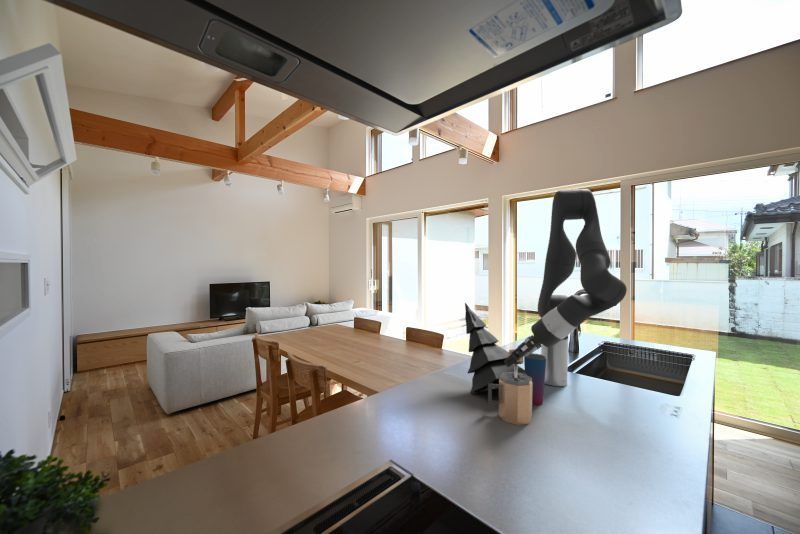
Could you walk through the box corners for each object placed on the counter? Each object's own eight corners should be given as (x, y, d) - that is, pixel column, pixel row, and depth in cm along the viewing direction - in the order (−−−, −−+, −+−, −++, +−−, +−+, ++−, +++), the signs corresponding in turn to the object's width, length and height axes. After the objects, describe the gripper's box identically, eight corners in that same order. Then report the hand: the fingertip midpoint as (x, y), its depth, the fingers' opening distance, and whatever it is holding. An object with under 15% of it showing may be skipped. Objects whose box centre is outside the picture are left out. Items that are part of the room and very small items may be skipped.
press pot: (486, 412, 101) (486, 373, 101) (520, 409, 104) (521, 371, 103) (500, 426, 93) (501, 383, 93) (537, 423, 95) (537, 381, 95)
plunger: (505, 410, 100) (506, 349, 100) (517, 409, 101) (518, 349, 101) (512, 416, 96) (513, 353, 96) (525, 415, 97) (526, 352, 97)
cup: (547, 407, 106) (548, 359, 105) (524, 405, 107) (525, 358, 107) (543, 398, 112) (544, 354, 112) (521, 396, 114) (522, 352, 113)
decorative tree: (505, 397, 121) (468, 311, 138) (534, 384, 110) (490, 292, 128) (474, 405, 114) (439, 313, 131) (501, 392, 103) (460, 294, 120)
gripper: (551, 313, 99) (510, 347, 107) (535, 319, 88) (490, 356, 96) (570, 333, 95) (526, 367, 103) (556, 342, 84) (508, 379, 92)
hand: (509, 361), depth 99 cm, fingers open, 4 cm apart
